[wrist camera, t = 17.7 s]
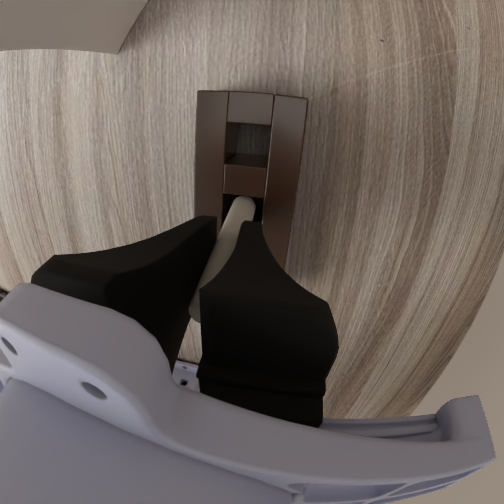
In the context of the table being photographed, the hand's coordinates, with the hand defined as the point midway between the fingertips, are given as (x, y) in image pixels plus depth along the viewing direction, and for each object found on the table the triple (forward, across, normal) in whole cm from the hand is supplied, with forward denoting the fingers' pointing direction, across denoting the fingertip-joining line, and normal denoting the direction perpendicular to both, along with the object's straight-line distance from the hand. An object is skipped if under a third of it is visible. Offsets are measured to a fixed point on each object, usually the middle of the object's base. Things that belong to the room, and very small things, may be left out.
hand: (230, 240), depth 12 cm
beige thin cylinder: (+4, 0, 0) cm, 4 cm away
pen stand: (+6, 0, 0) cm, 6 cm away
